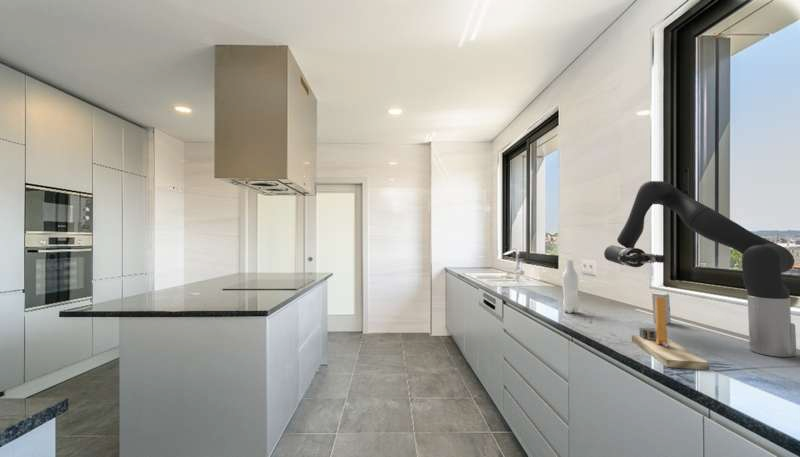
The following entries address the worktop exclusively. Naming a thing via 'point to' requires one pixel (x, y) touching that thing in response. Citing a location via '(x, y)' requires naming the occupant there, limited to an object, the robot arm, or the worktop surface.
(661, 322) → the upright wooden paddle
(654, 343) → the rail board
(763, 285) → the robot arm
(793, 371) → the worktop surface
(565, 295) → the water bottle
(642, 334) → the gray rectangular block
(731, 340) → the worktop surface
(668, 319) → the skincare box
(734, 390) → the worktop surface
